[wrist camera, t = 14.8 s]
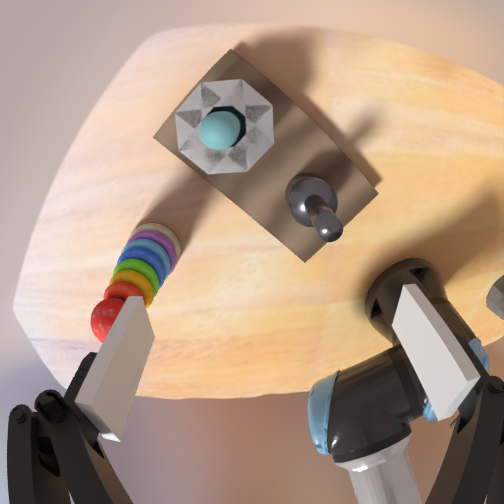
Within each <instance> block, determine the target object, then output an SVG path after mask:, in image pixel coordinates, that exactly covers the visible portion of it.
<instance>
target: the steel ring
mask: <svg viewBox="0 0 504 504" xmlns="http://www.w3.org/2000/svg"><path fill="white" fill-rule="evenodd" d="M226 106H233V107H234V108H236V109H237V110H238V111H239V112H240V113H242V114H243V115H244V116H245V117H246V132H245V133H244V134H243V135H242V136H241V137H240V138H239V139H238V140H237V141H236V142H234V144H233V145H231V146H230V147H228V148H226V149H223V150H214V149H211V148H209V147H207V146H206V145H205V144H204V143H203V142H202V140H201V138H200V135H199V127H200V124H201V122H202V120H203V119H204V118H205V117H206V116H208V115H209V114H211V113H213V112H214V111H215V110H216V109H217V108H218V107H226ZM175 120H176V131H177V141H178V151H180V152H181V153H182V154H183V155H185V156H186V157H187V158H188V159H190V160H191V161H192V162H193V163H195V164H196V165H197V166H198V167H200V168H201V169H202V170H203V171H205V172H206V173H207V174H220V173H235V172H247V171H248V170H249V169H250V168H251V167H252V166H253V165H254V164H255V163H256V162H257V161H258V160H259V159H260V158H261V156H262V155H263V154H264V153H265V152H266V151H267V150H268V149H269V148H270V147H271V146H272V145H273V144H274V132H273V105H272V104H271V103H269V102H268V101H267V100H266V99H265V98H264V97H263V96H261V95H260V94H259V93H258V92H257V91H256V90H254V89H253V88H252V87H251V86H250V85H248V84H247V83H246V82H245V81H244V80H242V79H237V80H224V81H212V82H203V83H200V84H199V85H198V87H197V88H196V89H195V90H194V91H193V92H192V93H191V94H190V96H189V97H188V98H187V99H186V100H185V101H184V103H183V104H182V105H181V106H180V107H179V109H178V110H177V111H176V112H175Z"/></svg>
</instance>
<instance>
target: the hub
mask: <svg viewBox="0 0 504 504" xmlns="http://www.w3.org/2000/svg"><path fill="white" fill-rule="evenodd" d="M245 132H246V117H245V116H244V115H243V114H242V113H240V112H239V111H238V110H237V109H236V108H234V107H233V106H226V107H218V108H217V109H216V110H215V111H214V112H213V113H211V114H209V115H208V116H206V117H205V118H204V119H203V120H202V122H201V124H200V127H199V135H200V138H201V140H202V142H203V143H204V144H205V145H206V146H207V147H209V148H211V149H214V150H223V149H226V148H228V147H230V146H231V145H233V144H234V142H236V141H237V140H238V139H239V138H240V137H241V136H242V135H243V134H244V133H245Z"/></svg>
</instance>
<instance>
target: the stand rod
mask: <svg viewBox="0 0 504 504" xmlns="http://www.w3.org/2000/svg"><path fill="white" fill-rule="evenodd" d="M285 198H286V202H287V204H288V207H289V209H290V212H291V214H292V216H293V218H294V219H295V220H296V221H297V222H298V223H299V224H301V225H303V226H306V227H315V229H316V231H317V233H318V235H319V237H320V238H321V239H322V240H323V241H325V242H333V241H336V240H337V239H339V238H340V236H341V235H342V233H343V225H342V223H341V221H340V220H339V219H338V217H337V216H336V215H335V213H336V211H337V207H338V198H337V195H336V193H335V191H334V189H333V188H332V187H331V186H330V185H329V184H328V183H327V182H326V181H325V180H324V179H323V178H322V177H321V176H319V175H317V174H315V173H309V172H306V173H301V174H298V175H296V176H295V177H294V178H292V179H291V180H290V182H289V183H288V185H287V187H286V191H285Z"/></svg>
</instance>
